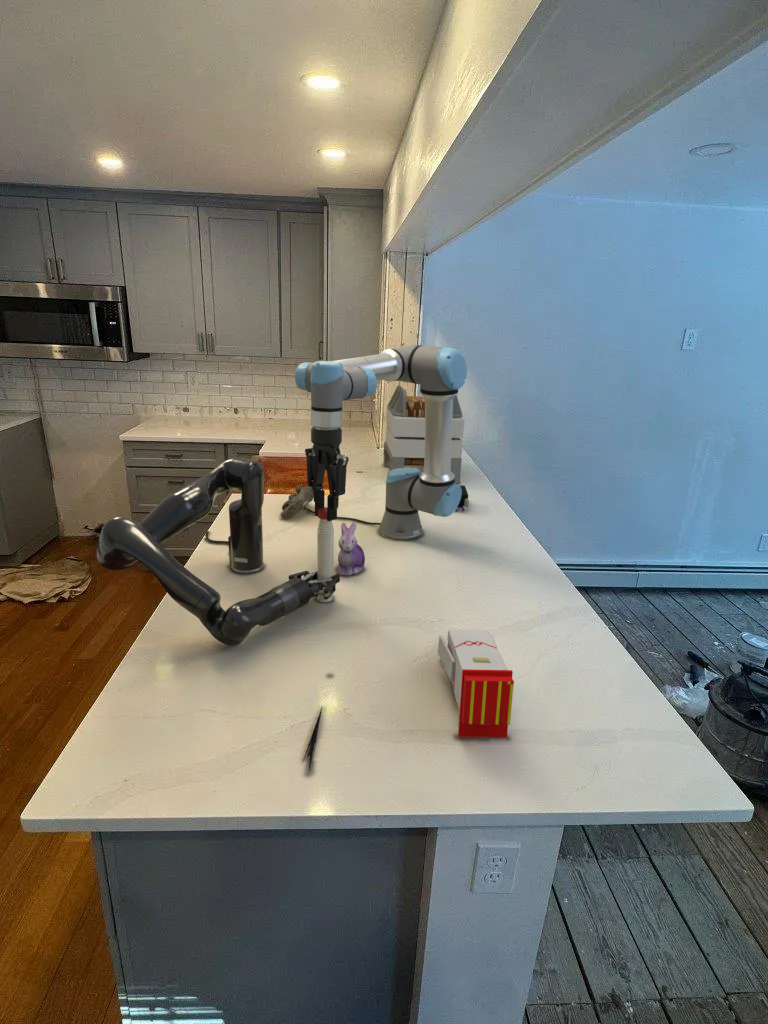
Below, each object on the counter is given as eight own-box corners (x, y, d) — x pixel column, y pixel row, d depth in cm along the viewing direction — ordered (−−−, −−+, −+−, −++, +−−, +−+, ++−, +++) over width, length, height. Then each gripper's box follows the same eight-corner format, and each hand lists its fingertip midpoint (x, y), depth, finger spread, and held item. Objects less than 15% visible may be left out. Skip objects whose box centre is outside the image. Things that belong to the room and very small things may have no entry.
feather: (331, 679, 122) (336, 673, 122) (307, 777, 96) (313, 769, 95) (324, 675, 122) (329, 669, 121) (298, 772, 95) (304, 764, 95)
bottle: (335, 600, 153) (336, 513, 144) (320, 603, 151) (321, 515, 142) (329, 593, 156) (330, 507, 148) (314, 596, 154) (315, 509, 146)
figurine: (343, 579, 165) (344, 531, 159) (329, 565, 173) (330, 519, 168) (372, 573, 169) (374, 526, 164) (357, 560, 177) (359, 515, 172)
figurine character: (468, 516, 224) (463, 500, 237) (471, 498, 221) (465, 483, 234) (452, 515, 224) (447, 499, 237) (453, 498, 220) (449, 482, 234)
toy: (488, 613, 130) (523, 677, 101) (484, 667, 133) (517, 744, 104) (435, 612, 130) (455, 676, 101) (432, 666, 133) (451, 743, 103)
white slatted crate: (382, 463, 289) (386, 382, 275) (445, 464, 293) (451, 384, 279) (390, 482, 257) (394, 392, 243) (460, 483, 261) (468, 394, 247)
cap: (336, 518, 145) (336, 511, 144) (321, 520, 143) (321, 513, 142) (330, 513, 148) (330, 506, 148) (315, 515, 146) (315, 508, 146)
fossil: (285, 490, 226) (313, 470, 221) (301, 508, 229) (329, 489, 224) (270, 515, 206) (301, 493, 201) (287, 534, 209) (318, 513, 204)
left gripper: (267, 602, 145) (312, 579, 159) (308, 620, 138) (352, 594, 151) (266, 575, 143) (312, 554, 156) (308, 593, 135) (353, 569, 149)
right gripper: (362, 431, 135) (359, 522, 143) (314, 419, 146) (314, 505, 154) (340, 435, 130) (338, 530, 138) (291, 423, 140) (292, 512, 148)
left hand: (331, 574), depth 154 cm, fingers closed on bottle, 4 cm apart
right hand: (325, 517), depth 146 cm, fingers closed on cap, 4 cm apart
